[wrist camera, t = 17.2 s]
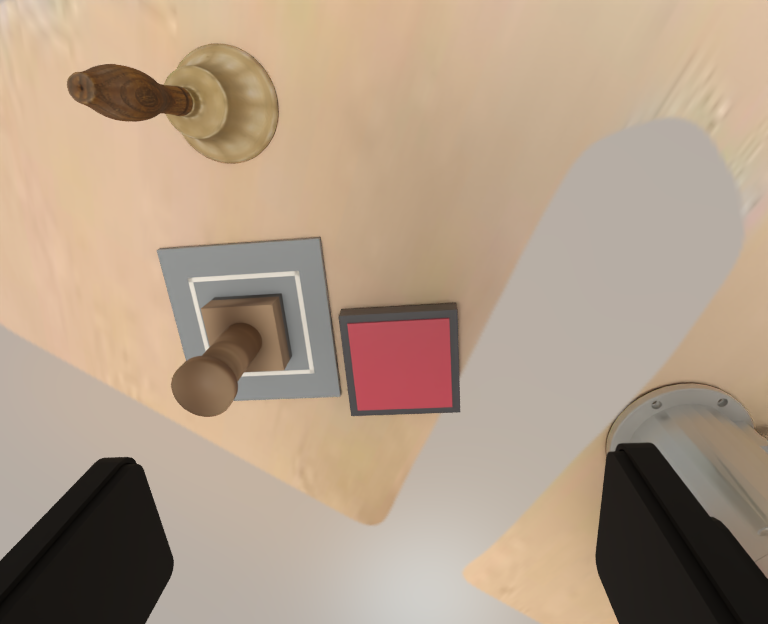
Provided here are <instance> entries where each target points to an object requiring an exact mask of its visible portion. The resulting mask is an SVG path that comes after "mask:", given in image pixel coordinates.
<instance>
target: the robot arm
mask: <svg viewBox="0 0 768 624" xmlns="http://www.w3.org/2000/svg"><path fill="white" fill-rule="evenodd" d="M606 454H607V457H606V465H605V474H604V483H603V492H602V501H601V510H600V519H599V528H598V537H597V546H596V565H597V570H598V574H599V576H600V579H601V581H602V584H603V586H604V589H605V591H606V594H607V596H608V598H609V601H610V603H611V606H612V608H613V610H614V613H615V615H616V618H617V620H618V622H619V624H768V440H767V439H766V438H764V437H762V436H761V435H760V434H759V433H757V432H756V431H755V429H754V424H753V420H752V418H751V416H750V414H749V412H748V411H747V410H746V409H745V408H744V407H743V405H742V404H741V403H740V402H738V401H737V400H736V399H735V398H734V397H732V396H731V395H730V394H728V393H726V392H724V391H722V390H721V389H718V388H715V387H712V386H708V385H702V384H694V383H691V384H677V385H671V386H666V387H663V388H660V389H657V390H654V391H652V392H650V393H648V394H646V395H644V396H642V397H640V398H638V399H637V400H636V401H634V402H633V403H632V404H630V405H629V406H628V407H627V408H626V409H625V410H624V411H623V412H622V413H621V414H620V415H619V416H618V418H617V419H616V421H615V422H614V424H613V425H612V427H611V430H610V432H609V435H608V438H607V444H606ZM173 566H174V560H173V556H172V553H171V550H170V547H169V544H168V541H167V538H166V535H165V532H164V529H163V526H162V523H161V520H160V517H159V514H158V511H157V509H156V505H155V502H154V499H153V496H152V493H151V490H150V487H149V484H148V481H147V478H146V475H145V472H144V470H143V468H142V466H141V465H139V464H137V463H136V461H135V460H134V459H133V458H129V457H115V458H102V459H99V460H98V461H97V462H96V463H94V464H93V465H92V466H91V468H90V469H89V470H88V471H87V472H86V473H85V474H84V475H83V476H82V477H81V478H80V479H79V480H78V481H77V482H76V483H75V484H74V485H73V486H72V487H71V488H70V489H69V490H68V491H67V492H66V494H65V495H64V496H63V497H62V498H61V499H60V500H59V501H58V502H57V503H56V504H55V505H54V506H53V507H52V508H51V509H50V510H49V511H48V512H47V513H46V514H45V515H44V516H43V517H42V518H41V519H40V520H39V521H38V522H37V523H36V524H35V525H34V527H32V529H31V530H30V531H29V532H28V533H27V534H26V535H25V536H24V537H23V538H22V539H21V540H20V541H19V542H18V543H17V544H16V545H15V546H14V547H13V548H12V549H11V550H10V551H9V552H8V553H7V554H6V555H5V557H3V559H2V560H1V561H0V624H145V623H146V621H147V619H148V617H149V616H150V614H151V612H152V610H153V608H154V607H155V605H156V603H157V601H158V599H159V597H160V595H161V594H162V592H163V590H164V588H165V587H166V585H167V583H168V581H169V579H170V577H171V575H172V571H173Z"/></svg>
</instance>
